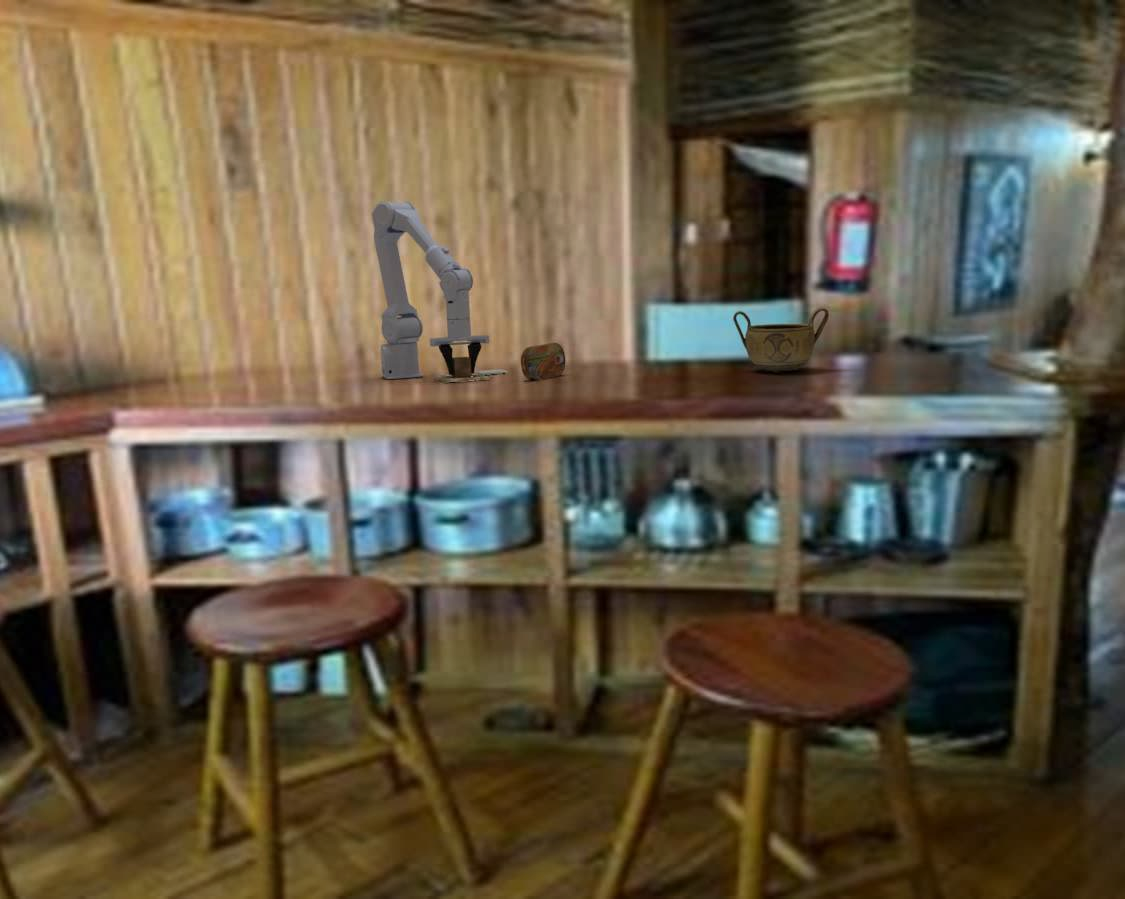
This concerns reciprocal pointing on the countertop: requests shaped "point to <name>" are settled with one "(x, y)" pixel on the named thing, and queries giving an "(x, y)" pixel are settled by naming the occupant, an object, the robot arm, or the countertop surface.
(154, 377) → the countertop surface
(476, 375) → the pocket board
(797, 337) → the ceramic bowl
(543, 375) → the tin
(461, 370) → the walnut block
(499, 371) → the ceramic pad
